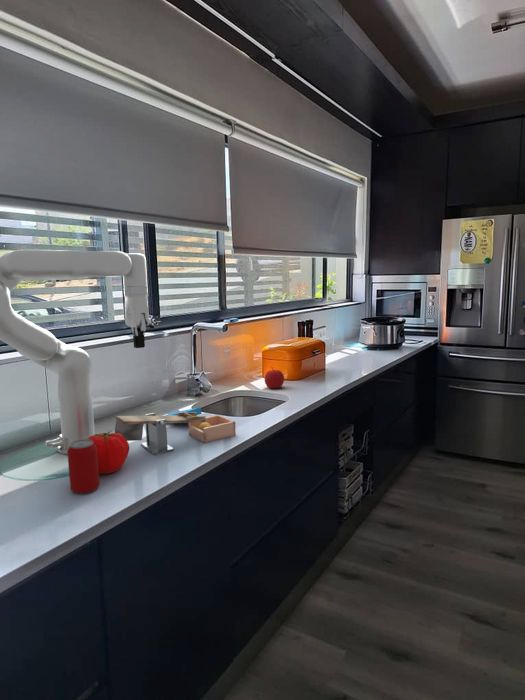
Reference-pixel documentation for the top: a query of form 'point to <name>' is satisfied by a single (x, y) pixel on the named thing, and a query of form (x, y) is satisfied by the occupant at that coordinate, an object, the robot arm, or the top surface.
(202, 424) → the ball
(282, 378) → the apple
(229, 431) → the dish
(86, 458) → the beverage can
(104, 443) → the tomato
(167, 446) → the fulcrum
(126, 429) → the lever
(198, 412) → the blue wedge block
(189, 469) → the top surface
